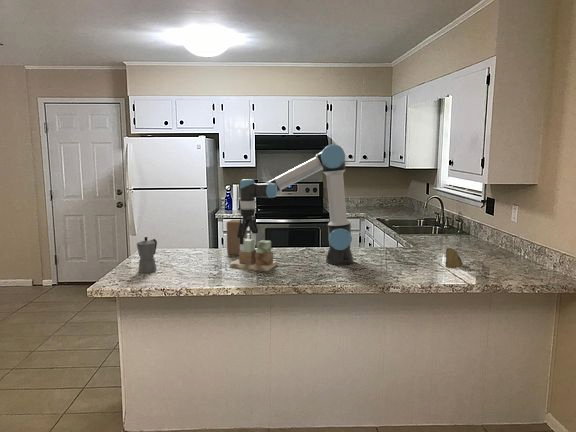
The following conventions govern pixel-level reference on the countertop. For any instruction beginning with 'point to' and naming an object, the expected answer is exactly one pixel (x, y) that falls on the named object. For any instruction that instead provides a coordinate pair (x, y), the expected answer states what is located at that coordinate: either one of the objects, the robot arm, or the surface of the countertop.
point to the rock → (452, 258)
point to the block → (233, 237)
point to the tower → (264, 253)
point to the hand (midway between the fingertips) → (248, 247)
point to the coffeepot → (147, 255)
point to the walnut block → (247, 257)
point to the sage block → (249, 245)
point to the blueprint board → (252, 265)
